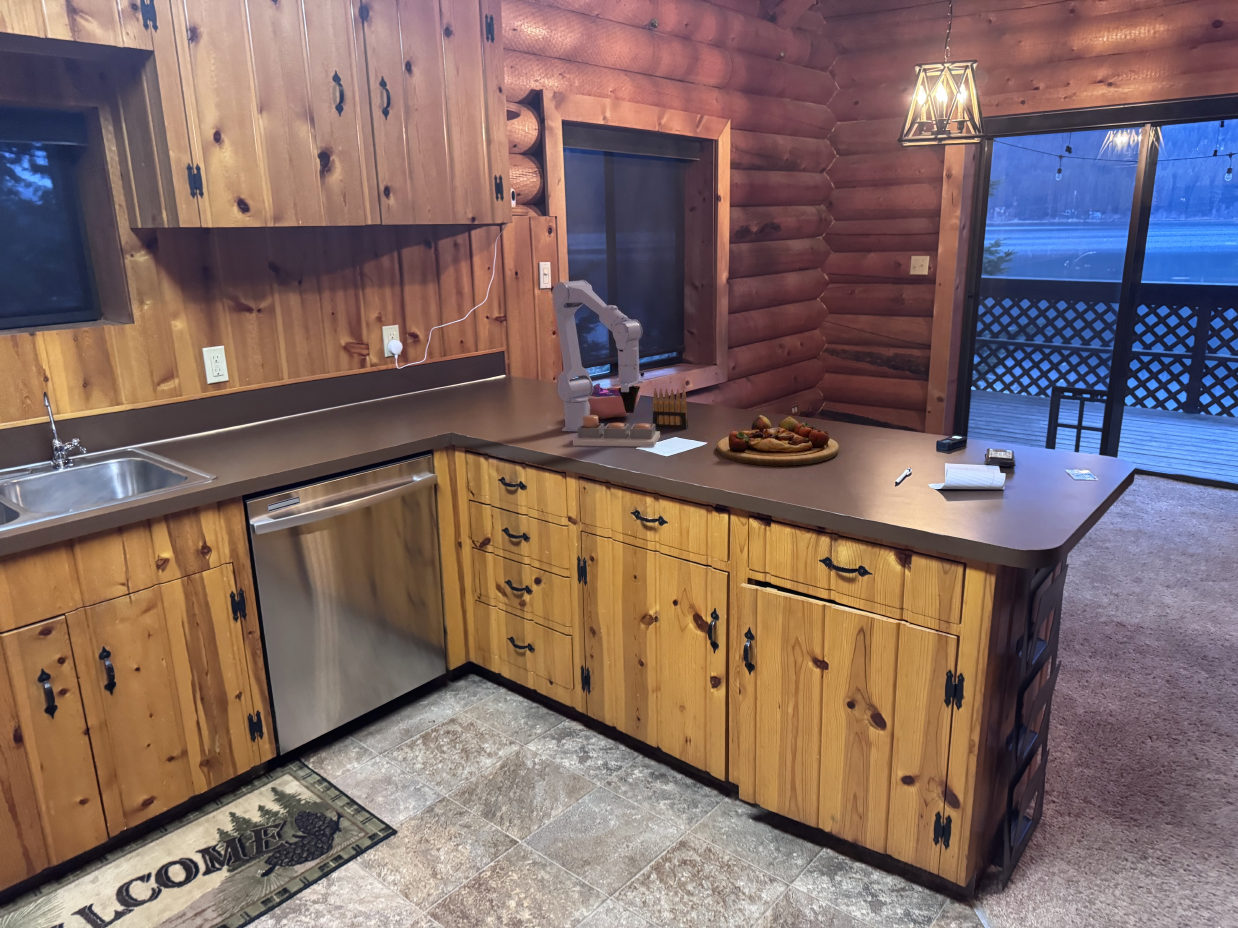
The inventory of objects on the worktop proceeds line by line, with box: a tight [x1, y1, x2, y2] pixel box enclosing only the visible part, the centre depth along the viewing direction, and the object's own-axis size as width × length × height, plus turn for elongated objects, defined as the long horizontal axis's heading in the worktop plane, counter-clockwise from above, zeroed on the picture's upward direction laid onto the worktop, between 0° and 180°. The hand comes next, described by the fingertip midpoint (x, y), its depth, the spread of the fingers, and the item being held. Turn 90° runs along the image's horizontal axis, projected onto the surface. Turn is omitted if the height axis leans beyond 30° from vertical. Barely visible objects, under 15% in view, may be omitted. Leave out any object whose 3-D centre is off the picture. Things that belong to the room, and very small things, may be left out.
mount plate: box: [572, 423, 661, 448], centre depth 244 cm, size 12×23×4 cm, turn 79°
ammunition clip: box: [652, 388, 689, 430], centre depth 257 cm, size 11×2×12 cm, turn 69°
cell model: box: [588, 382, 642, 420], centre depth 273 cm, size 17×20×11 cm
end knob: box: [583, 415, 600, 428], centre depth 245 cm, size 4×4×3 cm
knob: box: [635, 422, 651, 429], centre depth 243 cm, size 4×4×3 cm
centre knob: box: [609, 422, 625, 428], centre depth 244 cm, size 4×4×3 cm
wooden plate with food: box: [716, 414, 840, 467], centre depth 228 cm, size 32×32×8 cm
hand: (629, 412), depth 242 cm, fingers closed
